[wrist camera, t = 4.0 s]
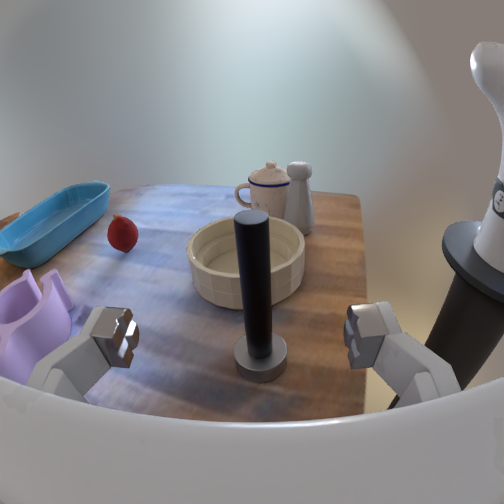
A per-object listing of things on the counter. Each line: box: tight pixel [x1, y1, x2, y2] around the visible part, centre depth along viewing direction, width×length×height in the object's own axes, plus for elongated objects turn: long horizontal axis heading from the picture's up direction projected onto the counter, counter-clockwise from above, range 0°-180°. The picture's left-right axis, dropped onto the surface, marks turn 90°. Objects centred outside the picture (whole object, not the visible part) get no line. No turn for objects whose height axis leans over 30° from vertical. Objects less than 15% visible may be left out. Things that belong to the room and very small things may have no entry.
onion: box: [107, 214, 138, 253], centre depth 51 cm, size 6×6×8 cm
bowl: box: [186, 216, 305, 309], centre depth 43 cm, size 16×16×6 cm
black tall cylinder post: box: [234, 209, 287, 383], centre depth 27 cm, size 6×6×18 cm
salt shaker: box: [283, 162, 315, 235], centre depth 52 cm, size 6×6×13 cm
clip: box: [0, 269, 74, 385], centre depth 30 cm, size 20×12×7 cm, turn 179°
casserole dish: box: [0, 181, 110, 268], centre depth 60 cm, size 37×22×7 cm, turn 162°
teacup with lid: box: [235, 161, 290, 220], centre depth 57 cm, size 12×9×12 cm
